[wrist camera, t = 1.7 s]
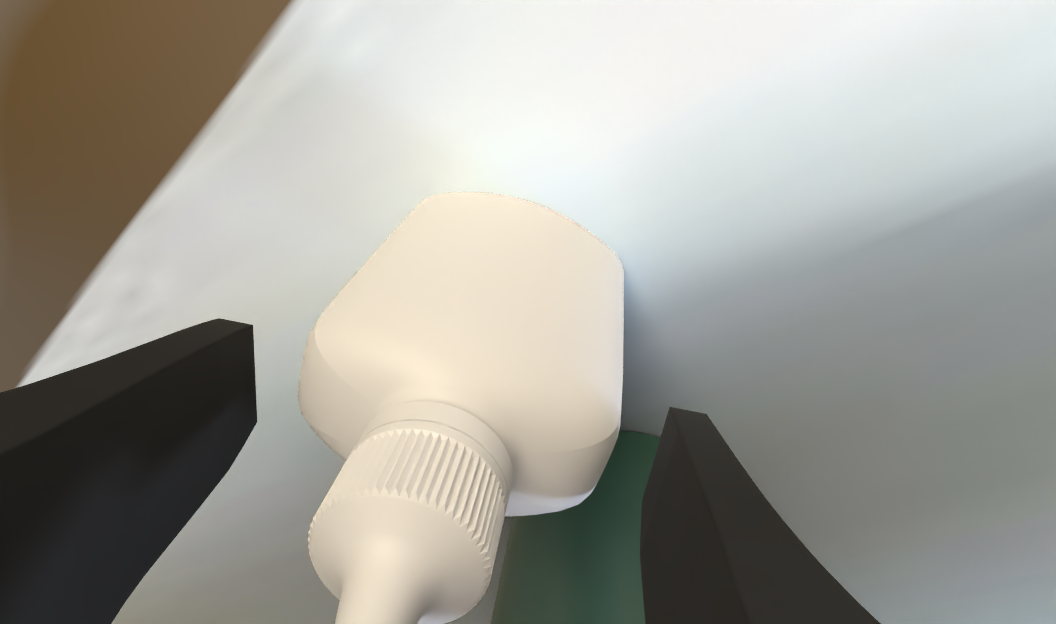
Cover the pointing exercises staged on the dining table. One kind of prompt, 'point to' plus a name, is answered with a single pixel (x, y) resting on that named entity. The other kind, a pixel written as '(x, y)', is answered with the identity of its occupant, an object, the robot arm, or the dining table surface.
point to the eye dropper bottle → (459, 399)
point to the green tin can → (582, 551)
